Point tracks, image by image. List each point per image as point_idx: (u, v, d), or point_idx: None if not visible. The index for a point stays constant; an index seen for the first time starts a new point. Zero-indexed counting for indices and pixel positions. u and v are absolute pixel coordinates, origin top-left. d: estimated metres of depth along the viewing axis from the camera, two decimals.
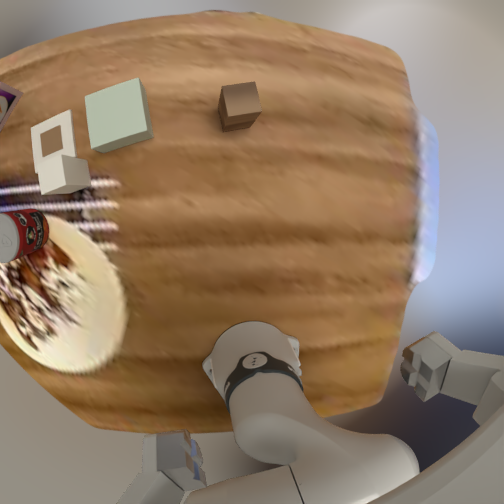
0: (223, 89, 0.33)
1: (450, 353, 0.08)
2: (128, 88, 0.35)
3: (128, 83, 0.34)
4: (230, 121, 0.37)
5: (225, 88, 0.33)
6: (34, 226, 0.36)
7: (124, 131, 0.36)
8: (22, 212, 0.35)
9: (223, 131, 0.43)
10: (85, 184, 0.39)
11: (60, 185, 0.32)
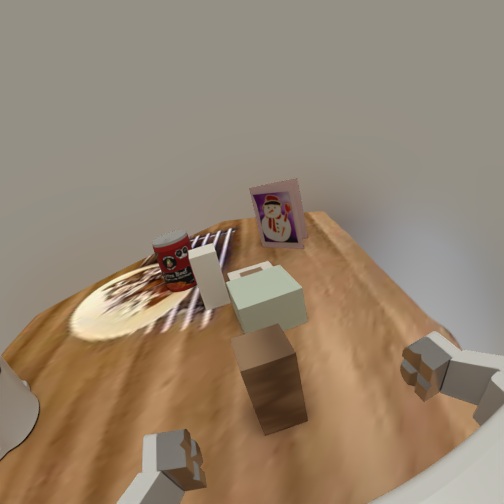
0: (273, 325, 0.25)
1: (450, 353, 0.08)
2: (287, 285, 0.40)
3: (294, 283, 0.40)
4: None
5: (275, 327, 0.25)
6: (177, 267, 0.57)
7: (239, 296, 0.40)
8: None
9: None
10: (202, 297, 0.49)
11: (189, 256, 0.47)
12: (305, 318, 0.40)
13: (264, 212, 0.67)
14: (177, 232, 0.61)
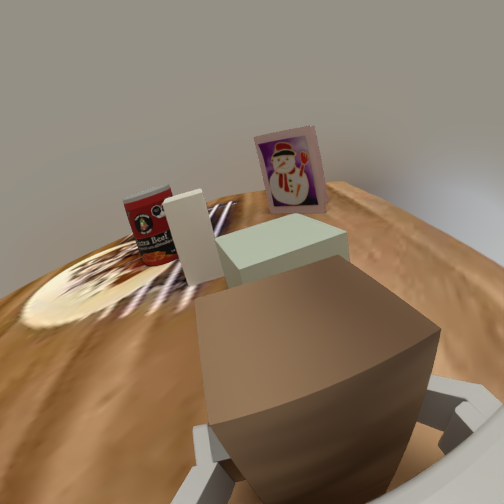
0: (325, 261, 0.09)
1: None
2: (320, 231, 0.23)
3: (330, 228, 0.23)
4: None
5: (332, 262, 0.08)
6: (153, 231, 0.40)
7: (237, 251, 0.23)
8: None
9: None
10: (183, 266, 0.32)
11: (164, 202, 0.30)
12: None
13: (273, 166, 0.50)
14: (157, 188, 0.44)
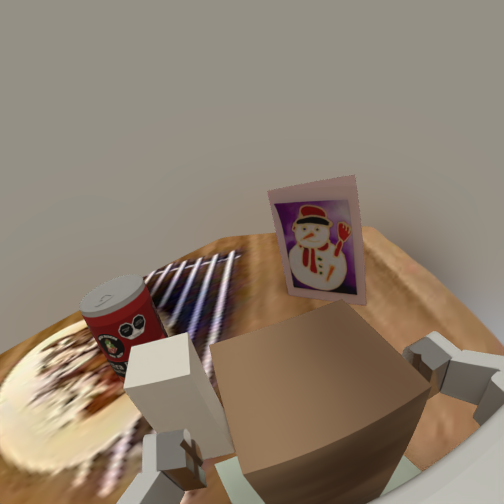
0: (330, 306, 0.09)
1: (450, 353, 0.08)
2: None
3: None
4: None
5: (337, 309, 0.09)
6: (126, 355, 0.26)
7: None
8: (150, 336, 0.27)
9: None
10: None
11: (127, 378, 0.16)
12: None
13: (296, 236, 0.36)
14: (128, 280, 0.30)
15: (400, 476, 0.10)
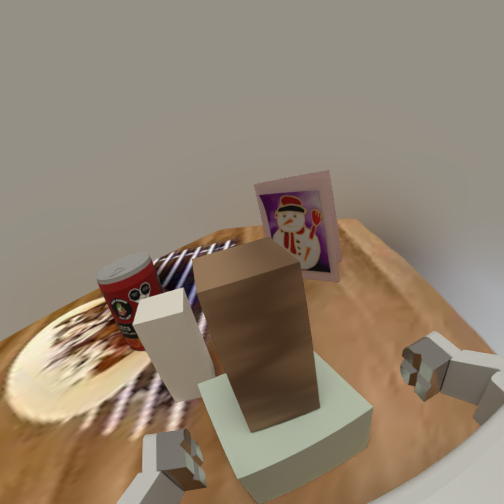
0: (261, 240, 0.16)
1: (450, 353, 0.08)
2: (338, 403, 0.16)
3: (351, 395, 0.16)
4: None
5: (264, 240, 0.16)
6: (133, 317, 0.33)
7: (231, 433, 0.15)
8: None
9: None
10: (167, 385, 0.24)
11: (136, 318, 0.23)
12: (364, 445, 0.16)
13: (278, 222, 0.42)
14: (137, 257, 0.37)
15: (338, 393, 0.16)
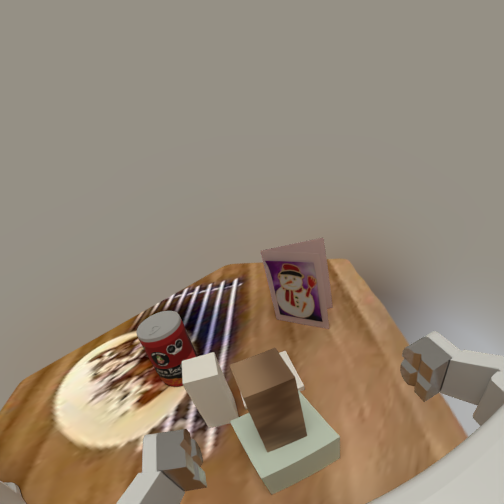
0: (270, 350, 0.26)
1: (450, 353, 0.08)
2: (319, 433, 0.25)
3: (326, 429, 0.25)
4: None
5: (272, 351, 0.25)
6: (170, 364, 0.42)
7: (255, 452, 0.25)
8: (185, 352, 0.44)
9: None
10: (204, 418, 0.34)
11: (183, 378, 0.32)
12: (338, 457, 0.26)
13: (280, 282, 0.52)
14: (168, 315, 0.46)
15: (319, 427, 0.26)
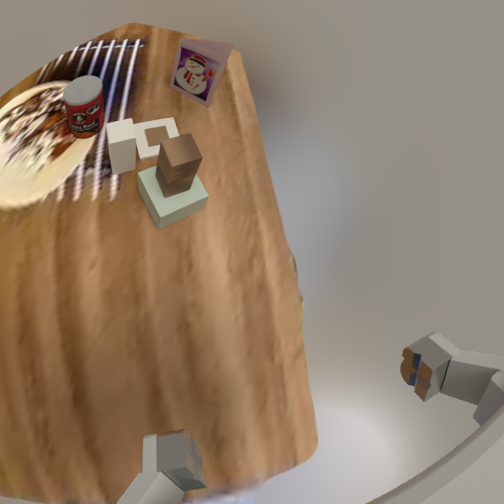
0: (187, 134, 0.38)
1: (450, 353, 0.08)
2: (196, 190, 0.47)
3: (201, 188, 0.47)
4: (160, 156, 0.39)
5: (189, 135, 0.38)
6: (86, 121, 0.43)
7: (156, 198, 0.44)
8: (99, 111, 0.44)
9: (155, 174, 0.44)
10: (112, 167, 0.46)
11: (109, 139, 0.39)
12: (201, 208, 0.52)
13: (185, 64, 0.50)
14: (90, 80, 0.40)
15: (197, 186, 0.47)
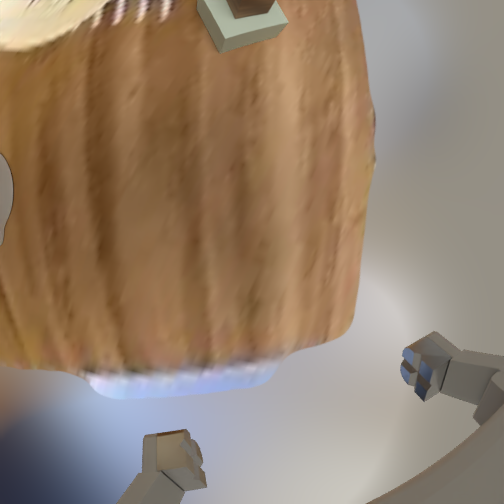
0: None
1: (450, 353, 0.08)
2: (273, 14, 0.28)
3: (280, 13, 0.28)
4: None
5: None
6: None
7: (221, 17, 0.27)
8: None
9: None
10: None
11: None
12: (275, 36, 0.33)
13: None
14: None
15: (274, 10, 0.27)
